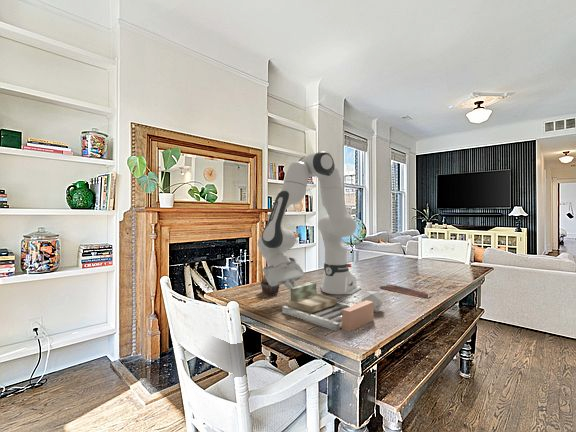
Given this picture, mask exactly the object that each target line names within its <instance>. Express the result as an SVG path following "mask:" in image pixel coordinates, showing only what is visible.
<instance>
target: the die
mask: <svg viewBox="0 0 576 432" xmlns="http://www.w3.org/2000/svg"><path fill="white" fill-rule="evenodd" d="M366 300H368V301H372V302H374V309H373V313H379V312H380V309H381V307H382V305H383V300H382V297H381V293H380V291H374V290H373V291H372V290H366V291H365V293H364V295H363V296H362V298H361V302H363V301H366Z"/></svg>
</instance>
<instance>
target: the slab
mask: <svg viewBox="0 0 576 432" xmlns="http://www.w3.org/2000/svg"><path fill="white" fill-rule="evenodd" d="M336 301H337V297H333V296H328V295H325V294H321V293H317V282H314V281H313V282H310V283H309V282H308V283H305V284H301V285H296V287H293V288H291V291H290V299H289V300H288V307H293V308H296V309H300V310H303V311H306V312H309V313H313V312H316V311H319V310H321V309H324V308H327V307H330V306H333V305H335V304H336Z"/></svg>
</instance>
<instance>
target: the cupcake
mask: <svg viewBox="0 0 576 432" xmlns="http://www.w3.org/2000/svg"><path fill="white" fill-rule="evenodd" d="M260 287H261V291H262V294H263V295H267V296H268V295H270V296H272V295H273V294H274V295H277V294H279V290H280V285H276V286H270V285H269V284H268V282H267V279H266V277H265V274H263V277H262V280H261V281H260ZM274 295H273V296H274Z"/></svg>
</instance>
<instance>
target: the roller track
mask: <svg viewBox="0 0 576 432" xmlns="http://www.w3.org/2000/svg"><path fill="white" fill-rule="evenodd" d="M350 306H353V305H352V304H348V303H344V302H340V301H337V300H336V304H335V305H333V306H330V307H327V308H324V309H321V310H319V311H316V312H313V313H309V312H306V311H303V310H300V309H296V308H293V307H290V306H289V305H288V306H287V305H283V306H282V309H281V310H282V311H281V313H283V314H284V315H287V314H288V316H290V315H291V317H293V316H294V317H293V318H296V317H297V319H299V318H300V319H299V320H302V319H303V321H305V322H308V323H311V324H315V325H317V326H320V327H323V328H326V329H329V330H332V331H334V332H338V331H340V330H341V329H342V310H343V309H345V308H348V307H350Z"/></svg>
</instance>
